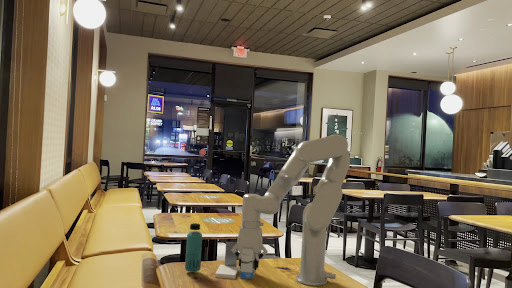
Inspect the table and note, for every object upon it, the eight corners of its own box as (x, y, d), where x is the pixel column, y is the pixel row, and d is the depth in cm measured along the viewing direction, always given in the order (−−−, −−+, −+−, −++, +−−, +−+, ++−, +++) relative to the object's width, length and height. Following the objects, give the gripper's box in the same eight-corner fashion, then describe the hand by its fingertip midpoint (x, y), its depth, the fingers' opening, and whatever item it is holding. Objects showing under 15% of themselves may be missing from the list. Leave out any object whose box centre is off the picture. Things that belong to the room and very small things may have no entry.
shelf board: (238, 269, 167) (238, 266, 167) (234, 278, 156) (235, 275, 156) (220, 268, 168) (220, 264, 168) (215, 277, 157) (215, 273, 157)
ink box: (251, 279, 156) (253, 250, 156) (239, 278, 157) (241, 248, 157) (256, 273, 164) (257, 244, 164) (244, 271, 165) (245, 243, 165)
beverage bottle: (186, 276, 156) (189, 225, 156) (182, 270, 162) (185, 222, 162) (202, 274, 158) (205, 225, 158) (198, 269, 165) (200, 221, 164)
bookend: (236, 266, 167) (237, 242, 167) (236, 266, 166) (237, 243, 166) (224, 265, 168) (226, 241, 168) (224, 265, 167) (226, 242, 167)
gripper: (272, 224, 163) (269, 267, 163) (231, 221, 165) (229, 264, 165) (271, 227, 156) (268, 273, 156) (228, 224, 157) (226, 270, 158)
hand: (248, 268), depth 160 cm, fingers closed on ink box, 5 cm apart
